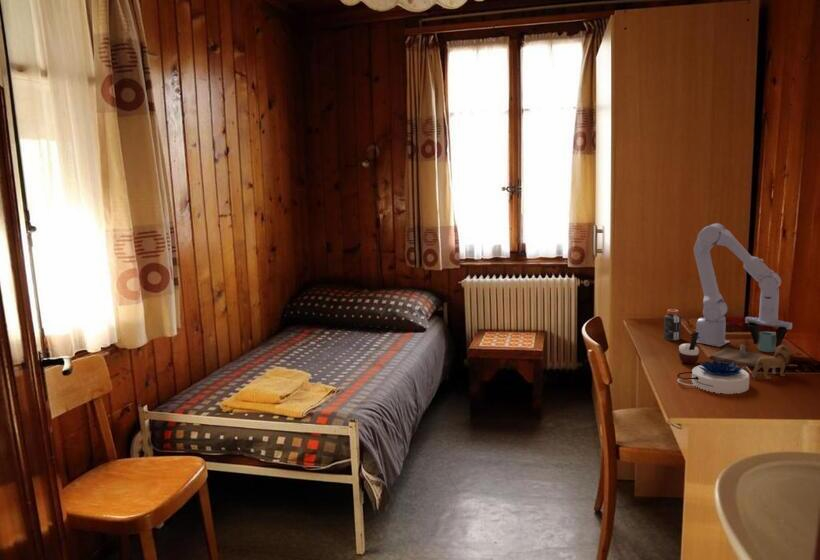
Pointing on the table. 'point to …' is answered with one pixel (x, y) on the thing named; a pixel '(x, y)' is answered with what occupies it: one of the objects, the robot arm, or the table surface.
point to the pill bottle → (672, 325)
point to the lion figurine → (773, 362)
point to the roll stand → (738, 356)
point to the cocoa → (689, 351)
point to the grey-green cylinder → (767, 341)
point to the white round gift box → (719, 377)
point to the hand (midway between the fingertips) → (766, 345)
